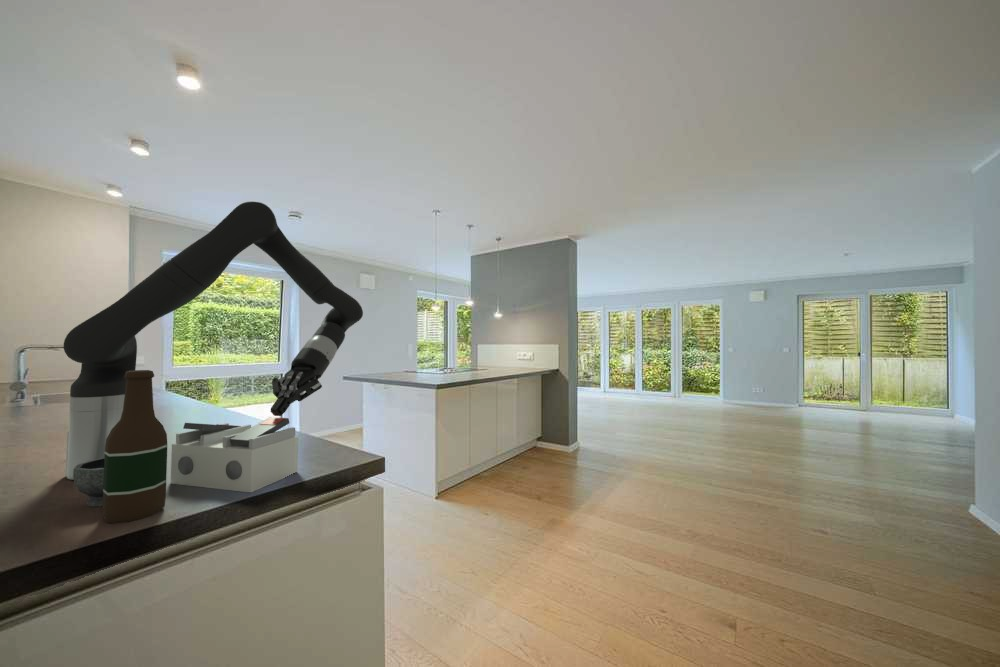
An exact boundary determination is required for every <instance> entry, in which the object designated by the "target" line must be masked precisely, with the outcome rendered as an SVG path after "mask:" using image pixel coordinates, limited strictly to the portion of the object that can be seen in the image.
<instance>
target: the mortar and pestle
mask: <svg viewBox="0 0 1000 667" xmlns="http://www.w3.org/2000/svg"><path fill="white" fill-rule="evenodd" d="M73 478H74V480H73V482H74V486H75V488H77V490H78V491H79V492H80V493H82V494H84V495H86V496H88V498H87V504H86V506H87V507H93V508H95V507H103V481H104V458H101V459H96V460H92V461H88V462H85V463H82V464H78V465H77V466H76V467H75V468H74V471H73Z"/></svg>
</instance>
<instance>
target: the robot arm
mask: <svg viewBox="0 0 1000 667" xmlns="http://www.w3.org/2000/svg"><path fill="white" fill-rule="evenodd" d="M251 245H255V246H256V247H257V248H259V249H261V251H263V252H264V254H267V255H268V256H269V258H271V259H272V260H274V262H275V263H276V264H278V265H279V267H281V269H282V270H283V271H284V272H285V273H286V274H287V275H288V276H289V277H290V279H291V280H293V281H294V283H295V284H296V285H297V286H298V287H299V288H300V289H301V290H302V291H303V292H304V293H305V294H306V295H307V296H308V297H309V298H310V300H312V301H313V302H314V303H315V304H316V305H324V304H328V305H329V306H331V307H332V308H331V309H330V310H329V311H328V312H327V314H326V315H325V316H324V318H323V320H322V322H321V323H320V326H319V327H318V329H317V330H315V332H314V334H313V335H312V336H311V338H310V339H308V341H306V342H305V344H304V345H303V347H302V348H301V349H300V350H299V352H298V353H297V354H296V355H295V357H294V358H293V360H292V362H291V364H290V365H291V366H290V369H289V370H288V371H287V372H286V373H285V374H284V376H282V377H281V378H278V377H273V378H272V380H271V384H272V395H274V396H275V397H276V400H275V401H274V403H273V404H272V406H271V407H270V413H271V414H272V415H273V416H275V417H282V415H283V414H285V413H286V412H287V410H288V408H289V407H290V405H291V404H293V403H295V402H296V401H298V402H302V401H303V400H306V399H307V398H308V397H310V396H311V395H313V394H314V393H315V392H317V391H319V390H320V389H321V388H323V385H322V383H321V382H320V381H319V379H321V378H322V376H323V375H324V373H325V372H326V370H327V368H328V367H329V365H330V364H331V362H332V361H333V360H334V358H335V355H336V354H337V352H338V350H339V348H340V347H341V345H342V344H343V342H344V341H345V339H346V338H345V337H346V332H347V330H348V329H349V328H350V327H352V326H354V325H355V324H356V323H358V322H359V321H360V320H361V319H362V318H363V317H364V316H363V315H364V311H363V308H362V306H361V304H360V303H359V302H358V300H356V299H355V297H353V296H351V295H350V294H348V293H347V292H345V291H344V290H342V289H341V288H339V287H338V286H336V285H335V284H333V282H332V281H331V280H330V279H329V278H328V277H327V276H326V274H324V273H323V272H322V270H320V269H319V267H317V265H315V264H314V263H313V262H311V261H310V259H308V258H307V257H306V256H304V255H303V253H301V252H300V251H299V250H298V249H296V247H295V246H294V245H293V244H292V243H291V241H289V239H288V238H287V236H285V234H284V233H283V231H282V230H281V228H280V227H279V225H278V222H277V219H276V216H275V213H274V212H273V210H272V209H271V207H269V206H268V205H267V204H265V203H263V202H261V201H256V200H249V201H245V202H242V203H240V204H238V205H236V207H234V208H233V210H231V212H229V214H228V215H226V216H225V217H224V218H223V219H222V220H221V221H220V222H219V223H218V224H217V225H216V226H215V227H214V228H213V229H211V230H210V231H209V232H208V233H206V234H205V235H203V236H202V237H200V238H198V239H197V240H196V241H194V242H193V243H191V244H190V245H188V246H187V247H185V248H184V249H183V250H182V251H180V252H178V253H177V254H175V255H174V256H173V257H171V258H170V259H169V260H167V261H166V262H165V263H163V264H162V265H160V267H158V268H157V269H156V270H154V271H153V272H152V273H151V274H149V275H148V276H147V277H146V278H144V279H143V280H142V281H141V282H139V283H138V284H136V285H135V286H134V287H132V288H131V289H130V290H129V291H128V292H127V293H126V294H124V295H123V296H122V297H120V299H118V300H117V301H115V302H114V303H112V304H111V305H109V306H107V307H106V308H104V309H102V310H101V311H99V312H98V313H96V314H94V315H92V316H91V317H89V318H88V319H85V320H84V321H83V322H81V323H80V324H78V325H76V326H75V327H74V328H72V329H71V330H70V331H69V332H68V333H67V334H66V336H65V338H64V341H63V351H64V353H65V355H66V356H67V357H68V358H69V359H70V360H72V361H74V362H76V363H79V364H81V368H80V373H79V375H78V376H77V377H76V380H74V381H73V383H71V385H70V390H69V393H70V394H69V419H68V431H67V433H66V451H65V452H66V453H65V476H66V479H68V480H70V481H71V480H73V481H74V478H73V471H74V468H75V467H76V466H77V465H78V464H82V463H85V462H88V461H92V460H96V459H101V458H104V454H105V445H106V439H107V437H108V435H109V433H110V431H111V430H112V428H113V427H114V426H115V425H116V424H117V423H118V422H119V420H120V419H121V415H122V412H123V405H124V397H125V389H126V380H127V379H126V378H124V376H125V374H126V372H127V371H133V370H137V369H136V368H137V355H138V354H137V353H138V344H137V339H136V338H137V337H136V335H138V334H139V333H140V332H141V331H142V330H144V329H145V328H147V326H148V325H150V324H151V323H153V322H155V321H156V320H159V319H160V318H162V317H164V316H166V315H168V314H170V313H172V312H174V311H176V310H178V309H180V308H182V307H184V306H186V305H187V304H188V303H190V302H191V301H194V299H197V297H198V296H200V295H201V294H202V293H203V292H204V291H206V290H207V289H208V288H209V287H211V286H212V285H213V284H214V283H215V281H217V280H218V278H219V277H220V276H221V275H222V274H223V272H224V271H225V270H226V269H227V267H228V266H229V265H230V264H231V262H232V261H233V260H234V259H235V258H236V256H238V255H239V254H240V253H241V252H243V251H244V250H246V249H247V248H249V247H250V246H251Z"/></svg>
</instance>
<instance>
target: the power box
mask: <svg viewBox="0 0 1000 667" xmlns="http://www.w3.org/2000/svg"><path fill="white" fill-rule="evenodd" d="M219 425H230V424H229V423H228V422H227V423H219ZM240 426H241V427H236V428H232V429H227V430H223V431H212V430H195V429H191V430H188V431H183V432H179V433H175V434H176V435H175V442H174V443H172V444H171V455H170V456H171V458H170V459H171V460H170V462H171V463H170V484H172V485H179V486H181V485H182V486H189V487H190V486H191V487H198V488H207V489H208V488H209V489H216V490H225V491H226V490H227V491H235V492H243V493H252V492H255V491H257V490H260V489H262V488H264V487H267V486H269V485H271V484H274V483H276V482H279V481H281V480H283V479H286V478H287V476H288V477H290V476H292V475H294V474H293V473H295V472H297V473H298V471H299V470H298V468H299V466H298V465H299V464H298V463H299V436H298V435H296V427H288V428H285V429H282V430H281V429H280V430H277V431H276V432H274V433H270V434H266V435H263V436H259V437H255V438H252V439H249V446H244V445H231V442H230V439H231V438H233V437H234V436H236V435H238V434H240V433H242V432H244V431H245V430H247V429H249V428H251V427H252V424H246V425H240ZM291 474H292V475H291ZM295 474H296V473H295ZM289 475H290V476H289ZM285 477H286V478H285Z"/></svg>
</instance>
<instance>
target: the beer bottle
mask: <svg viewBox="0 0 1000 667" xmlns="http://www.w3.org/2000/svg"><path fill="white" fill-rule="evenodd" d="M154 377H155V373H154V370H150V369H140V370H139V369H138V370H137V369H135V370H133V371H127V372H126V374H125V376H124V378H126V379H127V380H126V389H125V397H124V405H123V412H122V415H121V419H120V420H119V422H118V423H117V424H116V425H115V426H114V427H113V428H112V430H111V431H110V433H109V435H108V437H107V439H106V445H105V454H104V481H103V506H102V517H103V519H104V520H105V521H106V522H107V523H108V524H115V523H117V524H118V523H131V522H133V521H134V522H135V521H137V520H140V519H145V518H147V517H151V516H153V515H155V514H156V513H158V512H160V511H162V510H163V509H164V508H165V506H166V498H167V496H166V495H167V474H168V473H167V468H168V466H167V465H168V436H167V431H166V430H165V427H164V425H163V424H162V423H161V422H160V421H159V419H158V418H157V417H156V415H155V410H154V394H153V393H154V392H153V378H154Z"/></svg>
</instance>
